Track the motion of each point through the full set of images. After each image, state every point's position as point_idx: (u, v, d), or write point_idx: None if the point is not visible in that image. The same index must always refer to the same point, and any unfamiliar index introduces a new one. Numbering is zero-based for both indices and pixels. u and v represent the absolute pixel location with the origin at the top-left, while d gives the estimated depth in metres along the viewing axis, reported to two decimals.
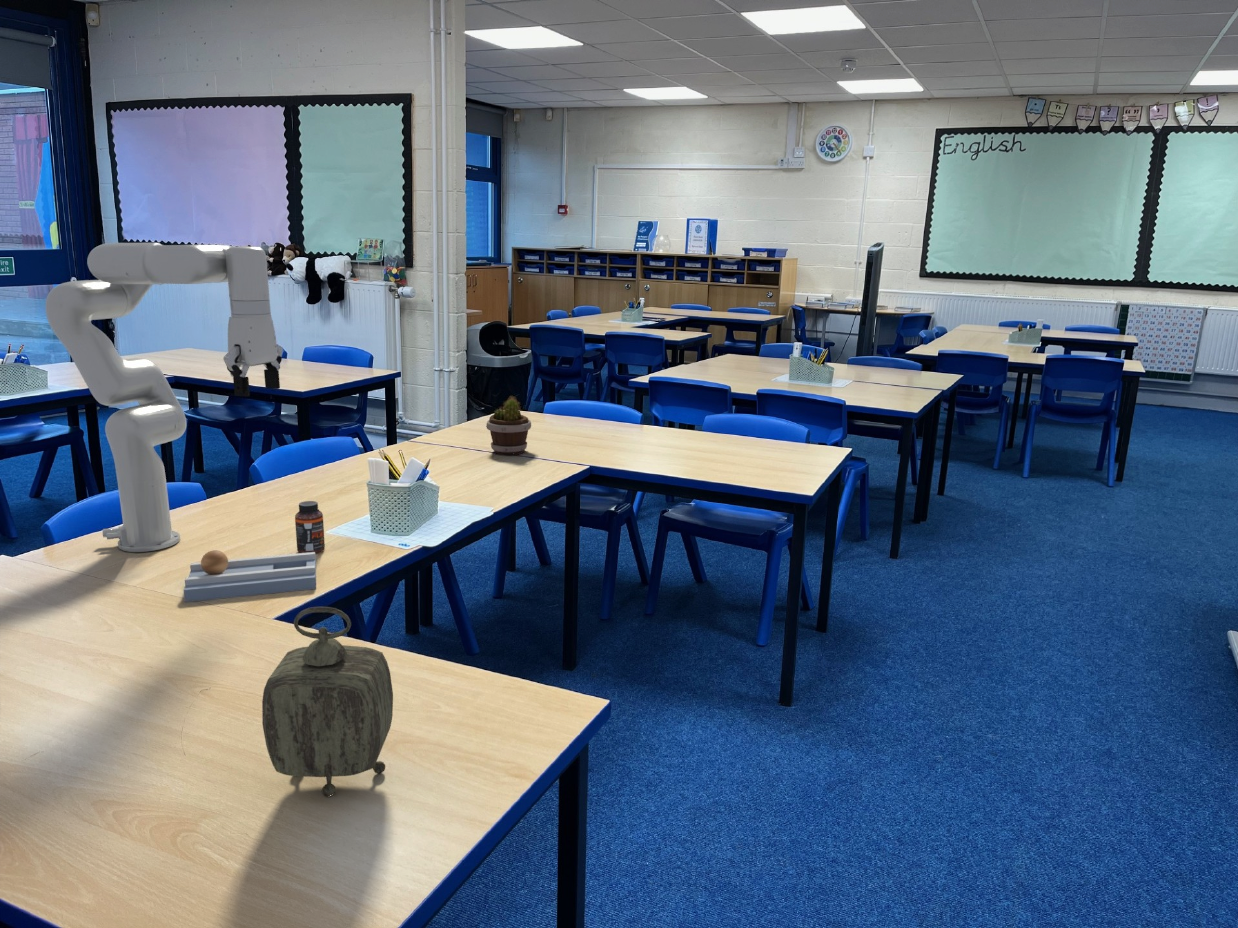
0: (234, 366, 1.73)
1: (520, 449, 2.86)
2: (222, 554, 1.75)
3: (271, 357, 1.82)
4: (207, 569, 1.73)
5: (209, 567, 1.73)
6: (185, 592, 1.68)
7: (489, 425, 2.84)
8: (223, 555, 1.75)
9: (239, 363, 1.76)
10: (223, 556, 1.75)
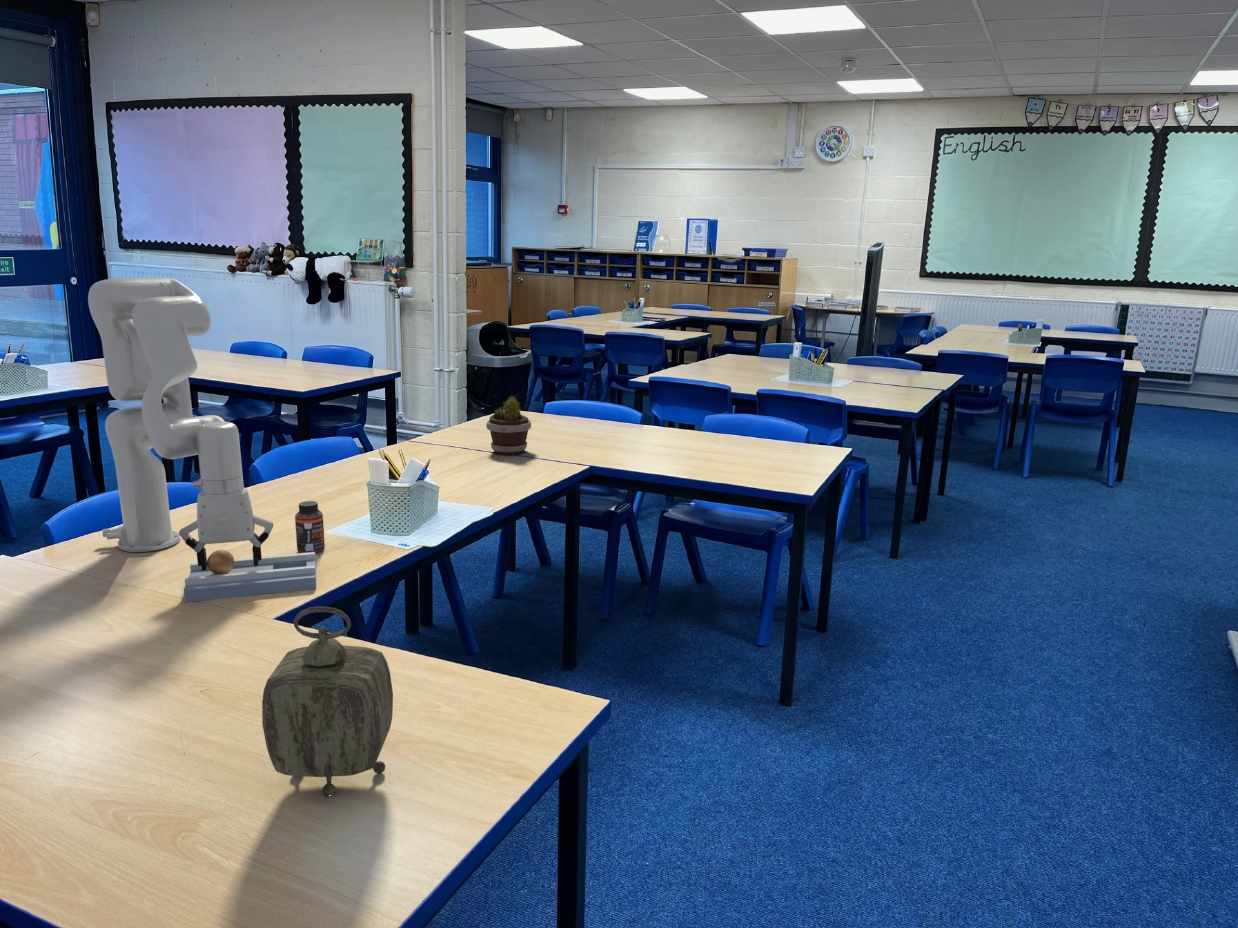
0: None
1: (520, 449, 2.86)
2: (232, 557, 1.76)
3: None
4: (213, 566, 1.73)
5: (215, 565, 1.73)
6: (185, 592, 1.68)
7: (489, 425, 2.84)
8: (232, 559, 1.76)
9: None
10: (232, 560, 1.76)
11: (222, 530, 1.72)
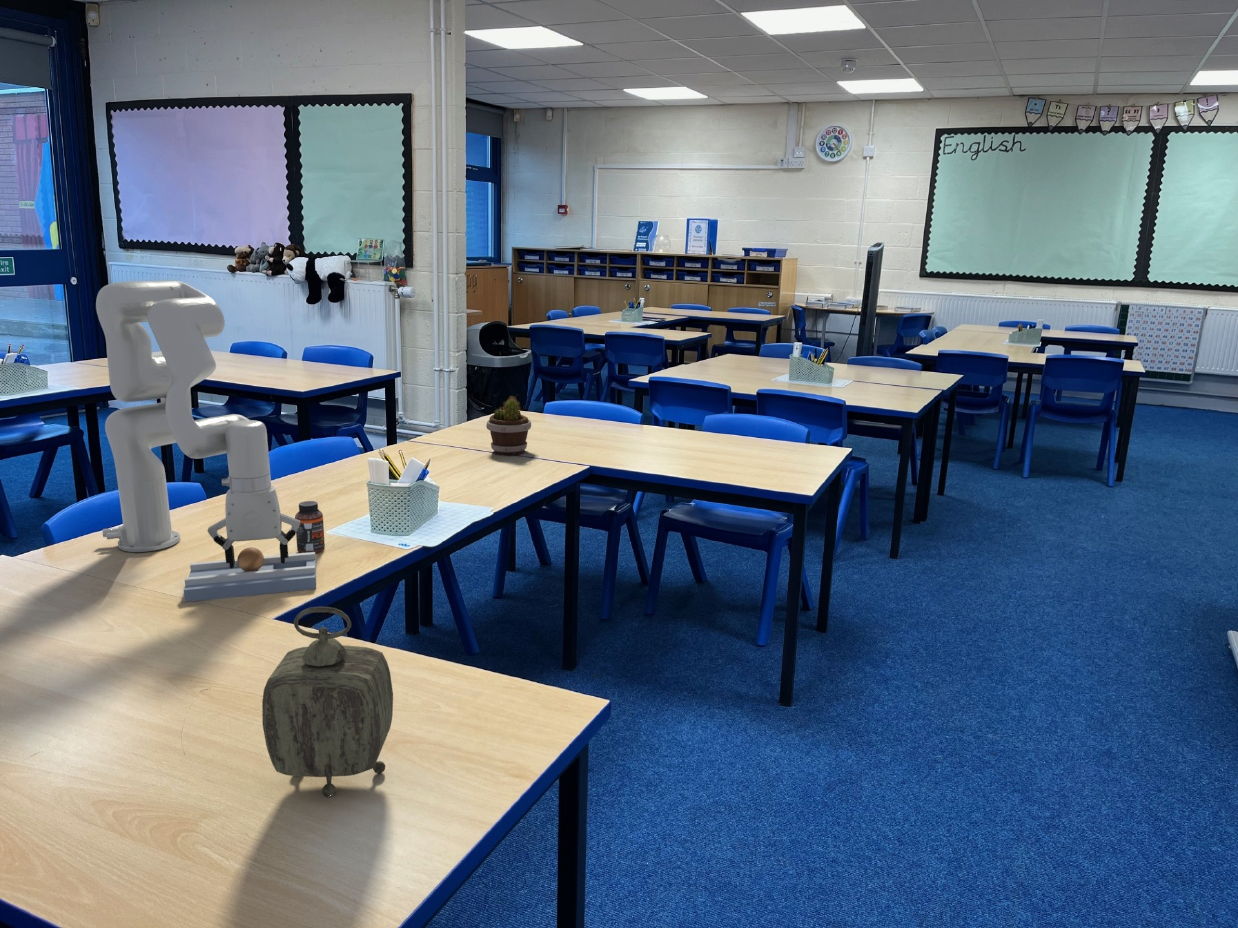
0: None
1: (520, 449, 2.86)
2: None
3: None
4: (253, 558, 1.75)
5: (252, 561, 1.75)
6: (185, 592, 1.68)
7: (489, 425, 2.84)
8: (246, 571, 1.77)
9: None
10: None
11: (250, 528, 1.73)
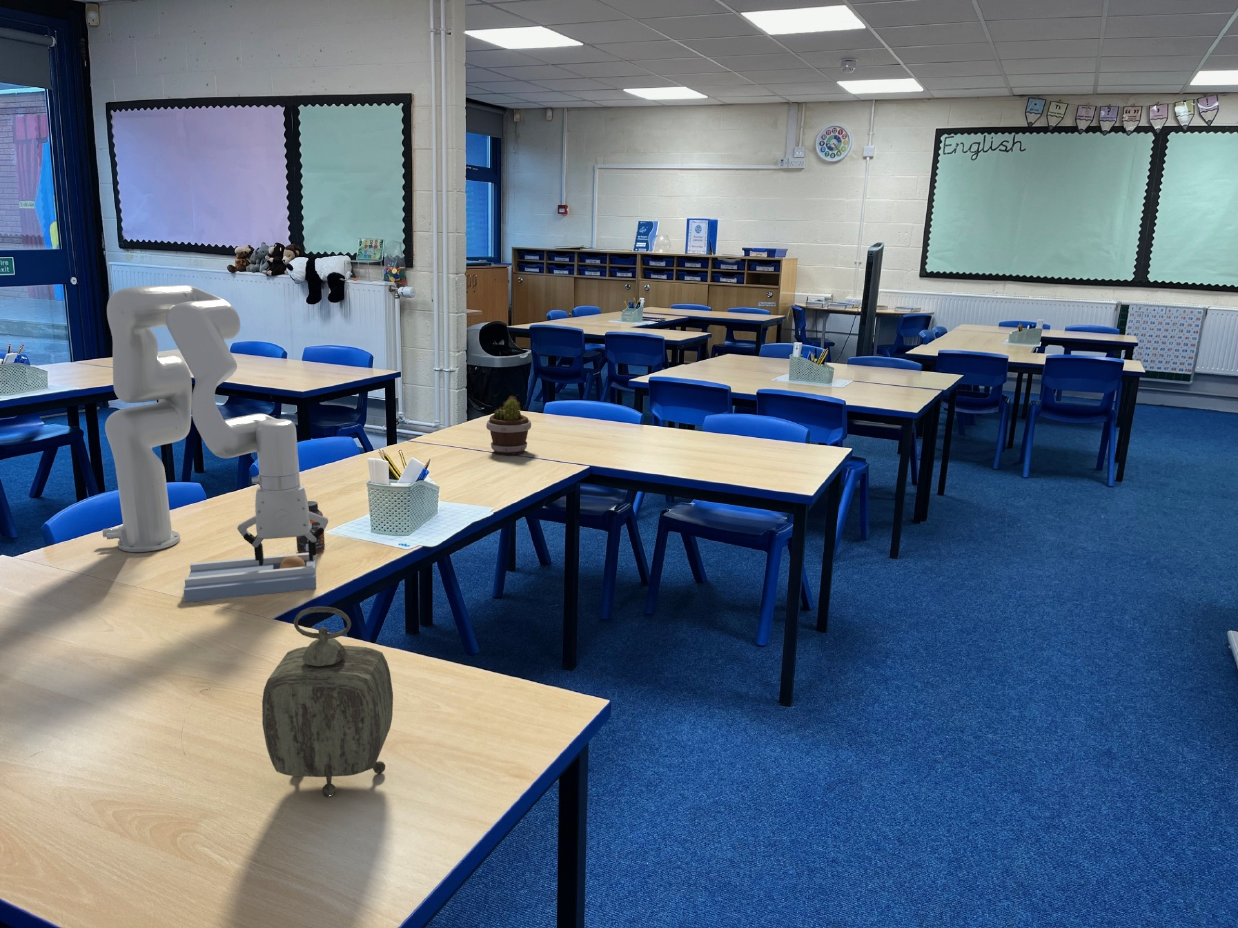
0: None
1: (520, 449, 2.86)
2: (299, 559, 1.80)
3: None
4: None
5: None
6: (185, 592, 1.68)
7: (489, 425, 2.84)
8: (301, 559, 1.80)
9: None
10: (301, 560, 1.80)
11: (280, 525, 1.75)
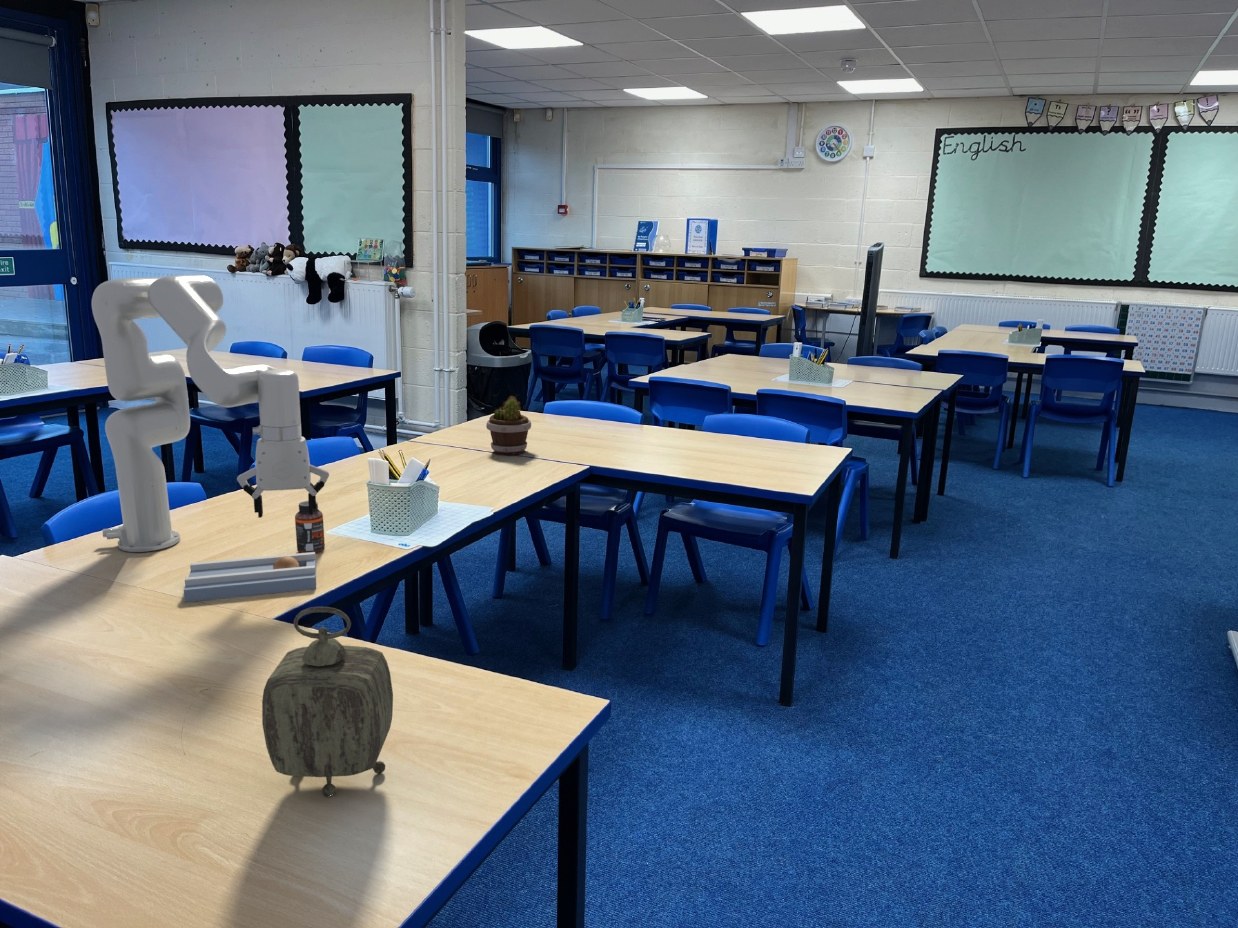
0: None
1: (520, 449, 2.86)
2: (288, 557, 1.79)
3: None
4: None
5: None
6: (185, 592, 1.68)
7: (489, 425, 2.84)
8: (289, 558, 1.79)
9: None
10: (290, 558, 1.79)
11: (280, 477, 1.73)
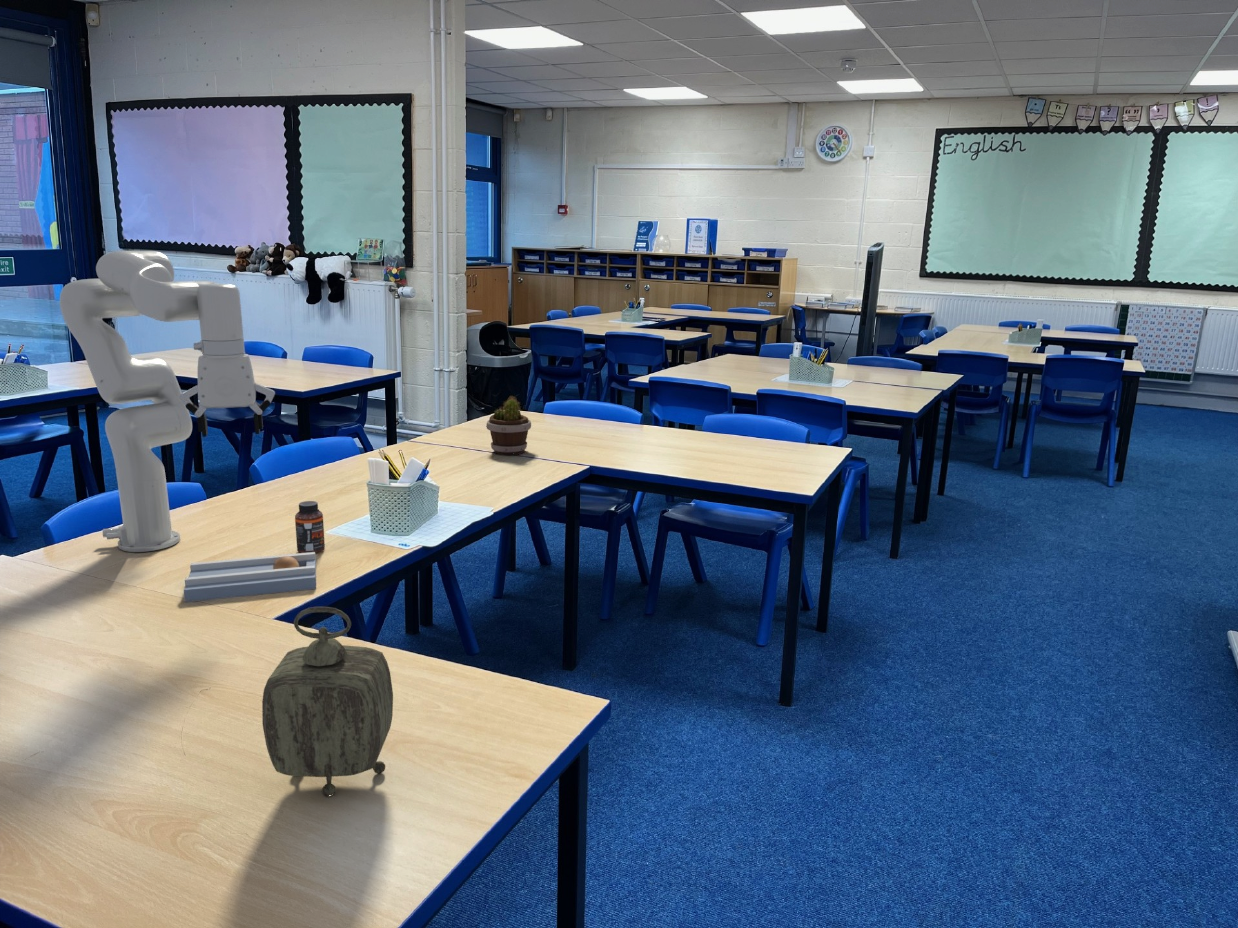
0: None
1: (520, 449, 2.86)
2: (287, 557, 1.79)
3: None
4: None
5: None
6: (185, 592, 1.68)
7: (489, 425, 2.84)
8: (289, 558, 1.79)
9: None
10: (289, 558, 1.79)
11: (223, 394, 1.69)
